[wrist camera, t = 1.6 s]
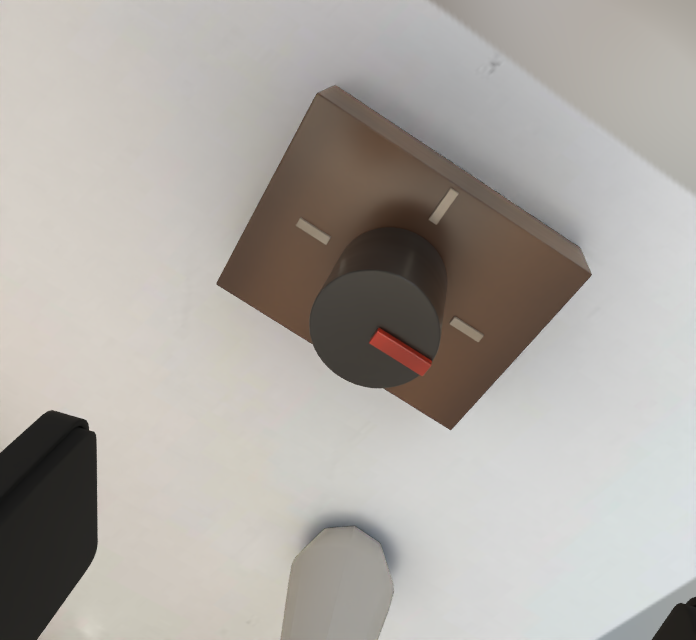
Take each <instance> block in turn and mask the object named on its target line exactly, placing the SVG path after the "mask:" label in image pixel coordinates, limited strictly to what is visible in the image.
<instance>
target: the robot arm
mask: <svg viewBox="0 0 696 640" xmlns="http://www.w3.org/2000/svg"><path fill="white" fill-rule="evenodd" d="M97 543H98V538H97V446H96V434H95V432H93V431H89V426H88V423H87V421H86V420H84V419H81V418H77V417H74V416H71V415H67V414H64V413H60V412H57V411H53V410H51V411H47V412H46V413H45V414H43V415H42V416H41V417H40V418H38V419H37V420H36V421H35V422H34V423H33V424H32V425H31V426H30V427H29V428H27V429H26V430H25V431H24V432H23V433H22V434H21V435H20V436H19V437H17V438H16V439H15V440H14V441H13V442H12V443H11V444H10V445H9V446H7V447H6V448H5V449H4V450H3V451H2V452H1V453H0V640H37V639H38V637H39V636H40V635H41V633H42V632H43V630H44V629H45V628H46V626H47V625H48V623H49V622H50V621H51V619H52V618H53V616H54V615H55V614H56V612H57V611H58V609H59V608H60V607H61V605H62V604H63V602H64V601H65V600H66V598H67V597H68V595H69V594H70V593H71V591H72V590H73V588H74V587H75V586H76V584H77V583H78V581H79V580H80V579H81V577H82V576H83V575H84V573H85V572H86V570H87V569H88V567H89V566H90V564H91V562H92V560H93V558H94V556H95V553H96V550H97ZM652 640H696V597H694V598H691V599H690V600H689V601H688V602H687V603H686V604H682V603H679V604H677V605H676V606H675V607H674V608H673V610H672V611H671V613H670V614H669V616H668V617H667V619H666V620H665V621H664V623H663V624H662V626H661V627H660V629H659V630H658V631H657V633H656V634H655V636H654V637H653V639H652Z"/></svg>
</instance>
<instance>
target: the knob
mask: <svg viewBox="0 0 696 640" xmlns="http://www.w3.org/2000/svg"><path fill="white" fill-rule="evenodd" d="M446 291H447V273H446V269H445V265H444V263H443V260H442V258H441V257H440V255H439V253H438V252H437V251H436V249H435V248H434V247H433V246H432V245H431V244H430V243H429V242H428V241H427V240H425V239H424V238H423V237H421V236H419V235H418V234H416V233H414V232H411V231H409V230H405V229H401V228H394V227H384V228H377V229H373V230H370V231H368V232H365V233H363V234H361V235H360V236H358V237H357V238H355V239H354V240H353V241H352V242H351V243H350V244H349V245H348V246H347V247H346V249H345V250H344V251H343V253H342V255H341V256H340V258H339V260H338V261H337V263H336V265H335V267H334V268H333V270H332V272H331V273H330V275H329V277H328V278H327V280H326V282H325V283H324V285H323V287H322V289H321V290H320V292H319V294H318V295H317V297H316V299H315V301H314V303H313V305H312V308H311V312H310V317H309V330H310V336H311V340H312V343H313V346H314V348H315V350H316V352H317V354H318V355H319V357H320V358H321V360H322V361H323V362H324V363H325V364H326V366H327V367H328V368H329V369H331V370H332V371H333V372H334V373H335V374H337V375H338V376H340V377H341V378H343V379H345V380H347V381H349V382H351V383H354V384H357V385H360V386H364V387H369V388H390V387H396V386H399V385H403V384H405V383H408V382H410V381H412V380H413V379H415V378H417V377H418V376H419V375H421V376H423V375H424V374H425V373H426V372H427V370H428V369H429V368H430V367H431V365H432V362H433V360H434V358H435V356H436V354H437V352H438V349H439V345H440V339H441V331H442V323H443V315H444V307H445V299H446Z"/></svg>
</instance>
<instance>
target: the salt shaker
mask: <svg viewBox="0 0 696 640" xmlns="http://www.w3.org/2000/svg"><path fill="white" fill-rule="evenodd" d="M393 593H394V587H393V581H392V578H391V575H390V572H389V569H388V566H387V563H386V559H385V556H384V553H383V550H382V547H381V544H380V543H379V542H378V541H376V540H375V539H373V538H372V537H370V536H369V535H367V534H366V533H364V532H363V531H361V530H360V529H358V528H357V527H355V526H347V527H335V528H325V529H324V530H323V531H322V532H321V533H319V534H318V535H317V536H316V537H315V538H314V539H313V540H312V541H311V542H310V543H309V544H308V545H307V546H306V547H305V548H304V549H303V550H302V551H301V552H300V553H299V554H298V555H297V556H296V557H295V559H294V561H293V563H292V566H291V571H290V577H289V583H288V590H287V597H286V604H285V611H284V619H283V626H282V633H281V640H378V638H379V635H380V632H381V630H382V627H383V624H384V622H385V619H386V616H387V614H388V611H389V608H390V605H391V601H392V597H393Z"/></svg>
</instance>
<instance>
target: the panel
mask: <svg viewBox="0 0 696 640" xmlns="http://www.w3.org/2000/svg"><path fill="white" fill-rule="evenodd" d="M384 227H394V228H401V229H405V230H409V231H411V232H414V233H416V234H418V235H419V236H421V237H423V238H424V239H425V240H427V241H428V242H429V243H430V244H431V245H432V246H433V247H434V248H435V249H436V251H437V252H438V253H439V255H440V257H441V258H442V260H443V263H444V265H445V269H446V273H447V291H446V299H445V307H444V315H443V323H442V331H441V339H440V345H439V349H438V352H437V354H436V356H435V358H434V360H433V362H432V365H431V367H430V368H429V369H428V370H427V372H426V373H425V374H424V375H423V376H421V375H419V376H418V377H417V378H415V379H413V380H412V381H410V382H408V383H405V384H403V385H399V386H396V387H390V388H384V389H385V390H387V391H389V392H390V393H392V394H393V395H395V396H397V397H398V398H400V399H401V400H403V401H405V402H406V403H408V404H409V405H411V406H413V407H414V408H416V409H417V410H419V411H421V412H422V413H424V414H425V415H427V416H429V417H430V418H432V419H434V420H435V421H437V422H438V423H440V424H442V425H443V426H445V427H446V428H448V429H450V430H452V428H453V427H454V426H455V425H456V424H457V423H458V422H459V421H460V420H461V419H462V417H463V416H464V415H465V414H466V413H467V412H468V411H469V410H470V409H471V408H472V406H473V405H474V404H475V403H476V402H477V401H478V400H479V399H480V398H481V397H482V395H483V394H484V393H485V392H486V391H487V390H488V389H489V388H490V387H491V386H492V384H493V383H494V382H495V381H496V380H497V379H498V378H499V377H500V376H501V375H502V373H503V372H504V371H505V370H506V369H507V368H508V367H509V366H510V365H511V364H512V362H513V361H514V360H515V359H516V358H517V357H518V356H519V355H520V354H521V353H522V351H523V350H524V349H525V348H526V347H527V346H528V345H529V344H530V343H531V342H532V340H533V339H534V338H535V337H536V336H537V335H538V334H539V333H540V332H541V331H542V329H543V328H544V327H545V326H546V325H547V324H548V323H549V322H550V321H551V320H552V318H553V317H554V316H555V315H556V314H557V313H558V312H559V311H560V310H561V308H562V307H563V306H564V305H565V304H566V303H567V302H568V301H569V300H570V299H571V297H572V296H573V295H574V294H575V293H576V292H577V291H578V290H579V289H580V288H581V286H582V285H583V284H584V283H585V282H586V281H587V280H588V279H589V278H590V277H591V275H592V274H591V271H590V269H589V267H588V265H587V262H586V260H585V258H584V255H583V253H582V251H581V249H580V247H578V246H577V245H575V244H574V243H572V242H571V241H569V240H568V239H566V238H565V237H563V236H562V235H560V234H559V233H557V232H556V231H554V230H553V229H551V228H550V227H548V226H547V225H545V224H544V223H542V222H541V221H539V220H538V219H536V218H535V217H533V216H532V215H530V214H529V213H527V212H526V211H524V210H523V209H521V208H520V207H518V206H517V205H515V204H514V203H512V202H511V201H509V200H508V199H506V198H505V197H503V196H502V195H500V194H499V193H497V192H496V191H494V190H493V189H491V188H490V187H488V186H487V185H485V184H484V183H482V182H481V181H479V180H478V179H476V178H475V177H473V176H471V175H470V174H468V173H467V172H465V171H464V170H462V169H461V168H459V167H458V166H456V165H455V164H453V163H452V162H450V161H449V160H447V159H446V158H444V157H443V156H441V155H440V154H438V153H437V152H435V151H434V150H432V149H431V148H429V147H428V146H426V145H425V144H423V143H422V142H420V141H419V140H417V139H416V138H414V137H413V136H411V135H410V134H408V133H407V132H405V131H404V130H402V129H401V128H399V127H398V126H396V125H395V124H393V123H392V122H390V121H389V120H387V119H386V118H384V117H383V116H381V115H380V114H378V113H377V112H375V111H374V110H372V109H371V108H369V107H368V106H366V105H365V104H363V103H362V102H360V101H359V100H357V99H356V98H354V97H353V96H351V95H350V94H348V93H347V92H345V91H344V90H342V89H341V88H339V87H338V86H336V85H334V86H332V87H330V88H327V89H325V90H323V91H321V92H318V93H317V94H316V96H315V98H314V99H313V101H312V103H311V105H310V107H309V109H308V111H307V113H306V115H305V116H304V118H303V120H302V122H301V124H300V126H299V128H298V130H297V132H296V134H295V135H294V137H293V139H292V141H291V143H290V145H289V147H288V149H287V151H286V152H285V154H284V156H283V158H282V160H281V162H280V164H279V166H278V168H277V169H276V171H275V173H274V175H273V177H272V179H271V181H270V183H269V185H268V186H267V188H266V190H265V192H264V194H263V196H262V198H261V200H260V202H259V204H258V205H257V207H256V209H255V211H254V213H253V215H252V217H251V219H250V221H249V222H248V224H247V226H246V228H245V230H244V232H243V234H242V236H241V238H240V239H239V241H238V243H237V245H236V247H235V249H234V251H233V253H232V255H231V256H230V258H229V260H228V262H227V264H226V266H225V268H224V270H223V272H222V274H221V275H220V277H219V279H218V281H217V285H218V286H220V287H221V288H223V289H225V290H226V291H228V292H230V293H231V294H233V295H234V296H236V297H238V298H239V299H241V300H242V301H244V302H246V303H247V304H249V305H250V306H252V307H254V308H255V309H257V310H258V311H260V312H262V313H263V314H265V315H266V316H268V317H270V318H271V319H273V320H274V321H276V322H278V323H279V324H281V325H283V326H284V327H286V328H287V329H289V330H291V331H292V332H294V333H295V334H297V335H299V336H300V337H302V338H303V339H305V340H307V341H308V342H310V343H311V344H313V343H312V340H311V336H310V330H309V317H310V312H311V308H312V305H313V303H314V301H315V299H316V297H317V295H318V294H319V292H320V290H321V289H322V287H323V285H324V283H325V282H326V280H327V278H328V277H329V275H330V273H331V272H332V270H333V268H334V267H335V265H336V263H337V261H338V260H339V258H340V256H341V255H342V253H343V251H344V250H345V249H346V247H347V246H348V245H349V244H350V243H351V242H352V241H353V240H354V239H355V238H357V237H358V236H360V235H361V234H363V233H365V232H368V231H370V230H373V229H377V228H384Z"/></svg>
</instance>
